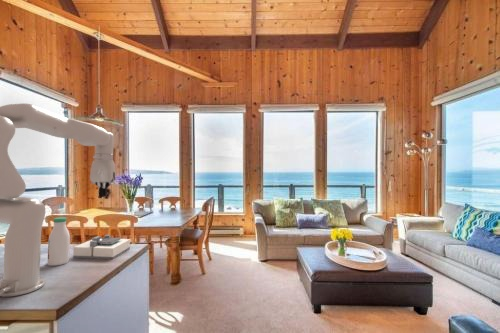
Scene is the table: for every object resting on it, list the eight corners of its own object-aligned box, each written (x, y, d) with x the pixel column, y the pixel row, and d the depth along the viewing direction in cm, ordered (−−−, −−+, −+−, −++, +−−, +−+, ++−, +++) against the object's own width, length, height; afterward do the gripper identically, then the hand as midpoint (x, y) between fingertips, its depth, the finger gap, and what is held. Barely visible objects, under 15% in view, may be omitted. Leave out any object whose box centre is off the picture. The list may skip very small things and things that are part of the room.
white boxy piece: (112, 259, 119) (113, 242, 119) (73, 257, 120) (73, 241, 120) (129, 248, 135) (130, 234, 135) (94, 247, 136) (95, 233, 136)
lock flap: (93, 241, 123) (93, 245, 123) (110, 241, 123) (110, 245, 123) (104, 236, 132) (104, 240, 132) (120, 236, 132) (120, 239, 132)
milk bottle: (73, 260, 116) (75, 216, 116) (59, 266, 108) (60, 219, 109) (57, 259, 117) (59, 216, 117) (42, 265, 109) (44, 219, 110)
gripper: (83, 157, 118) (81, 196, 117) (115, 158, 117) (113, 197, 117) (93, 158, 125) (92, 195, 125) (123, 158, 125) (122, 196, 124)
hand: (102, 196), depth 121 cm, fingers closed
